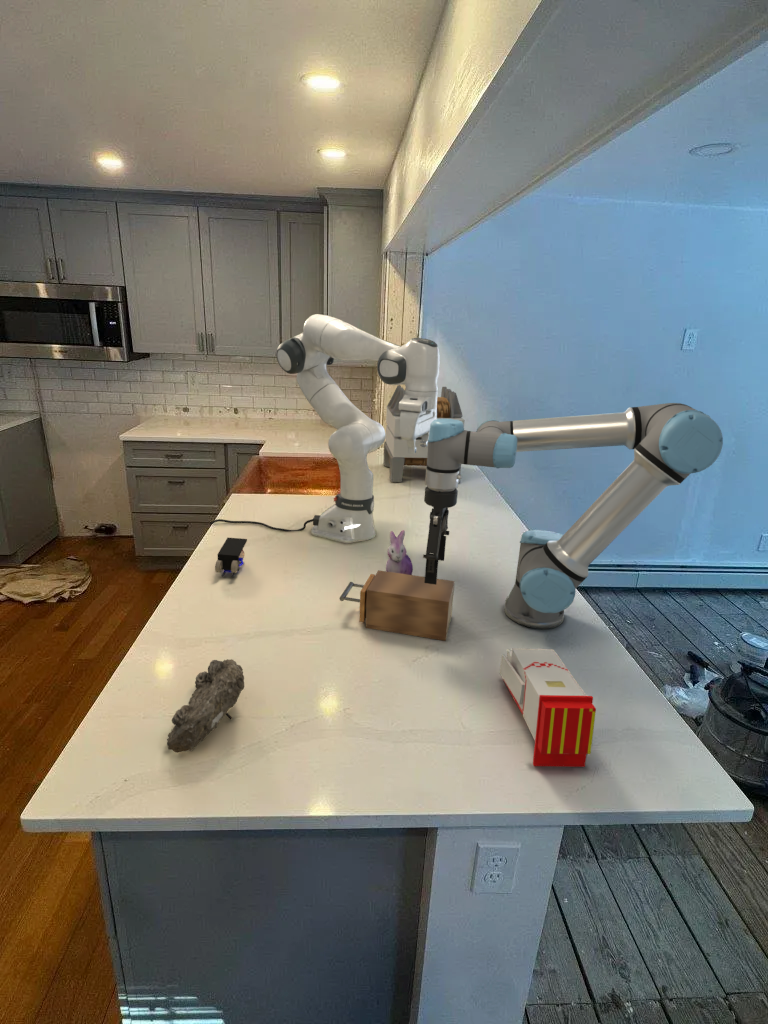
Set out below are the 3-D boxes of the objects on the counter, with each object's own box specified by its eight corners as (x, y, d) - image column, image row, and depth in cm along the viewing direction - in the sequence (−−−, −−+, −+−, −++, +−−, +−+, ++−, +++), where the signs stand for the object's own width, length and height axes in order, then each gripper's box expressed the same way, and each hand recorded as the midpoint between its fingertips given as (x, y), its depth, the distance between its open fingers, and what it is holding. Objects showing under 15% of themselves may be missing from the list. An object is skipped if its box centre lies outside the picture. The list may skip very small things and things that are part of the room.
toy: (549, 630, 124) (606, 704, 95) (544, 686, 127) (597, 774, 98) (495, 629, 124) (534, 703, 95) (490, 685, 127) (527, 774, 97)
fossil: (192, 660, 117) (244, 628, 112) (224, 691, 120) (276, 661, 115) (142, 746, 98) (202, 712, 93) (182, 779, 101) (242, 748, 96)
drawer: (338, 618, 142) (338, 588, 139) (349, 599, 152) (350, 570, 149) (433, 633, 137) (435, 602, 134) (439, 613, 147) (441, 583, 144)
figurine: (392, 589, 160) (394, 540, 155) (375, 574, 168) (377, 527, 163) (420, 583, 164) (424, 535, 159) (403, 569, 172) (406, 523, 167)
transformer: (382, 463, 289) (386, 382, 275) (445, 464, 293) (451, 384, 279) (390, 482, 257) (394, 392, 243) (460, 483, 261) (468, 394, 247)
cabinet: (365, 627, 140) (366, 589, 137) (376, 606, 151) (378, 570, 147) (445, 640, 136) (449, 602, 133) (451, 617, 147) (454, 581, 143)
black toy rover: (238, 584, 162) (249, 557, 175) (236, 562, 158) (247, 536, 172) (215, 584, 161) (227, 556, 175) (212, 561, 158) (225, 535, 171)
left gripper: (423, 395, 165) (420, 441, 169) (396, 404, 147) (393, 456, 152) (443, 397, 162) (440, 444, 167) (419, 406, 145) (416, 459, 149)
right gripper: (451, 506, 118) (443, 596, 125) (463, 474, 141) (456, 552, 148) (415, 501, 119) (409, 591, 127) (433, 471, 142) (427, 549, 149)
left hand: (418, 450), depth 159 cm, fingers open, 8 cm apart
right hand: (434, 571), depth 137 cm, fingers open, 13 cm apart
